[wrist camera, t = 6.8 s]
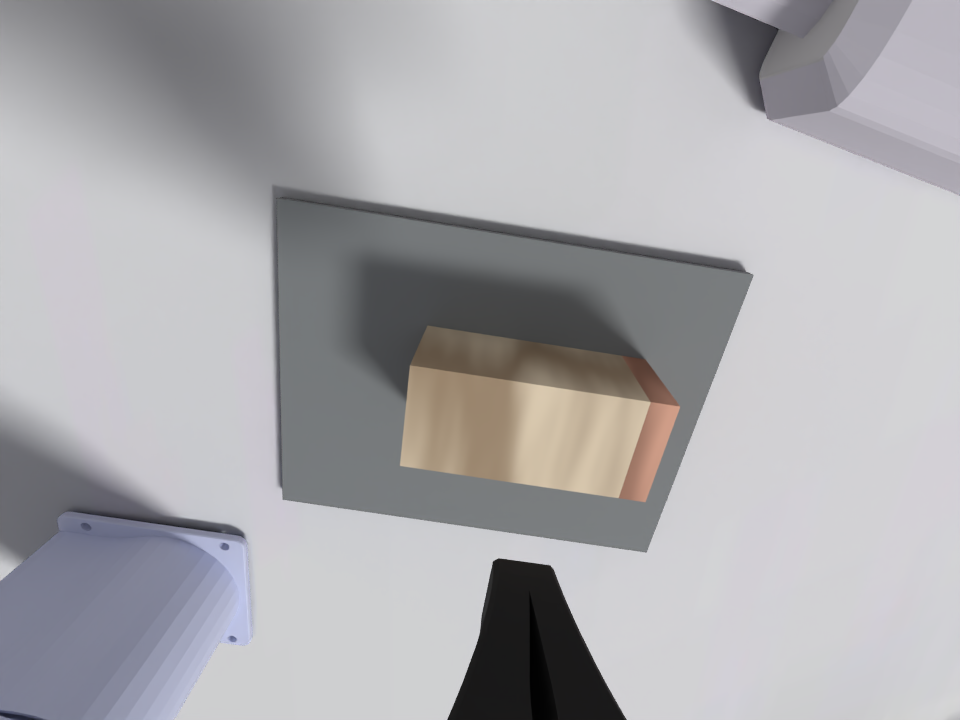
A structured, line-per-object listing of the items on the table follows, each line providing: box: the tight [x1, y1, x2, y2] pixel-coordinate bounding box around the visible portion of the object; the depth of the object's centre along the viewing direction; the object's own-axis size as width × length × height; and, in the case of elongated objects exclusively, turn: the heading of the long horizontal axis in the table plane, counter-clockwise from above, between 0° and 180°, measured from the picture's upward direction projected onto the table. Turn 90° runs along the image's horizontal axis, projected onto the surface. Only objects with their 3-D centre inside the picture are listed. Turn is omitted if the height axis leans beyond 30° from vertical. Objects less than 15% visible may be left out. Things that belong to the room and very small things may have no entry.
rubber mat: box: [276, 197, 753, 552], centre depth 20 cm, size 18×14×1 cm
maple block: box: [400, 326, 680, 502], centre depth 18 cm, size 4×4×9 cm
